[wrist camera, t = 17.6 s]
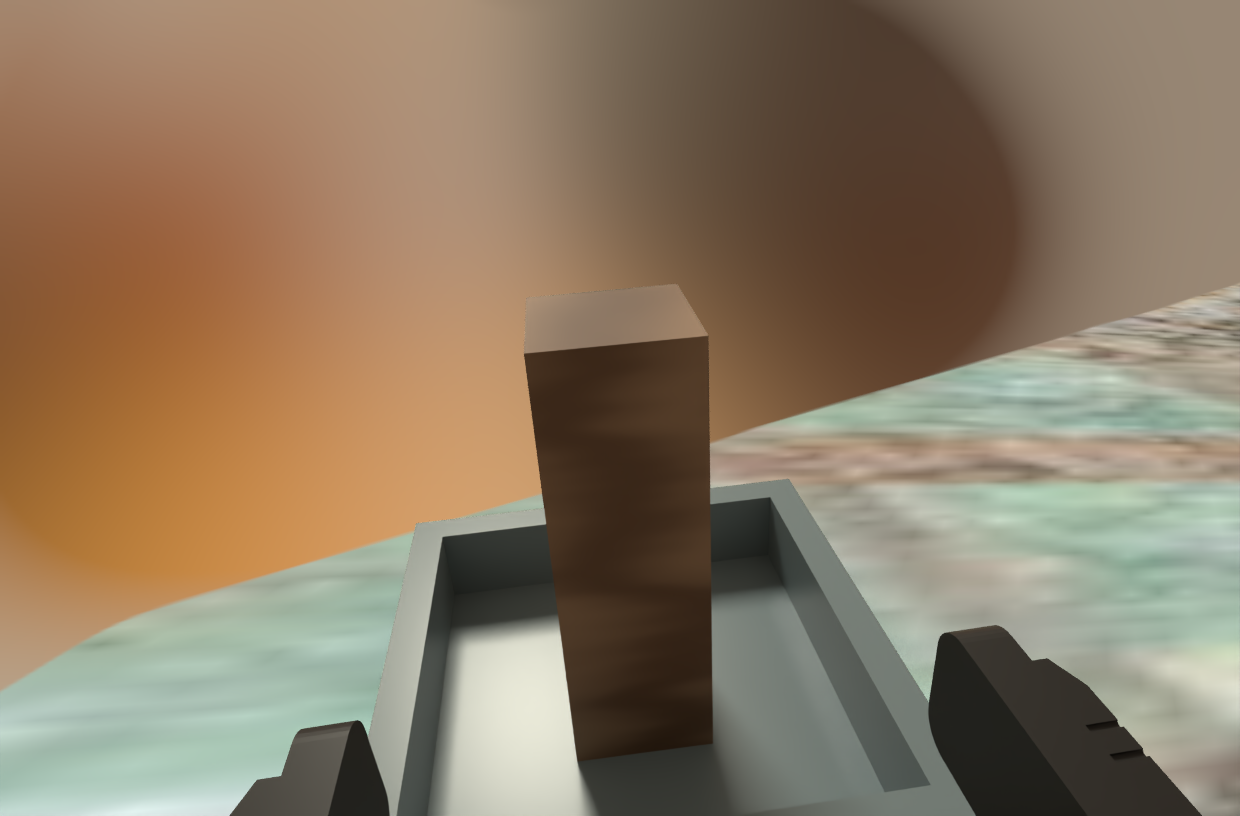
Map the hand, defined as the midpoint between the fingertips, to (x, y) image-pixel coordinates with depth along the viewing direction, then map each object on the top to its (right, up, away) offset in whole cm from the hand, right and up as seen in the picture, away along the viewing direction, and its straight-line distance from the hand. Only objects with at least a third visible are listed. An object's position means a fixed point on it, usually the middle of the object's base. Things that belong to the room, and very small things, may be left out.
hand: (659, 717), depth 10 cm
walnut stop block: (0, -6, +15) cm, 16 cm away
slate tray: (0, -7, +16) cm, 17 cm away
